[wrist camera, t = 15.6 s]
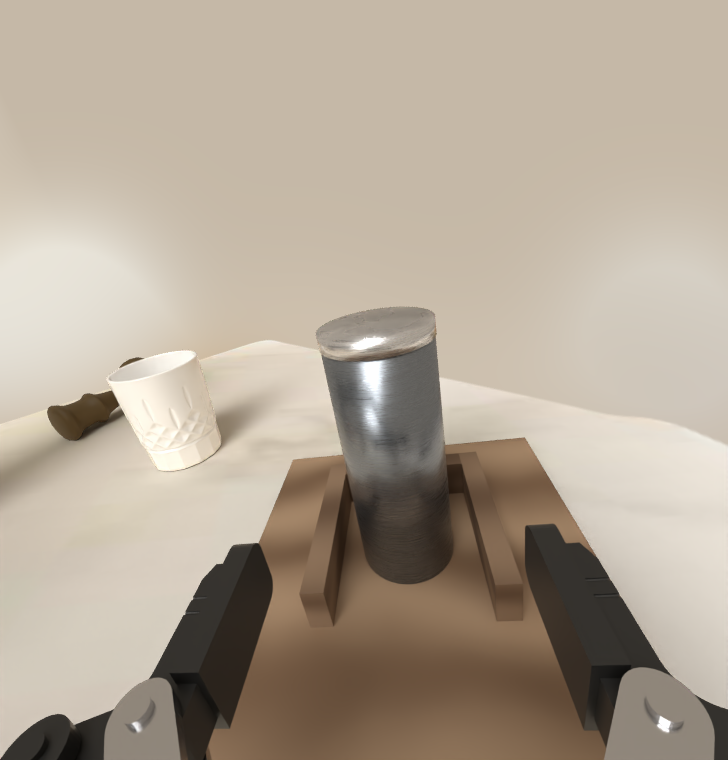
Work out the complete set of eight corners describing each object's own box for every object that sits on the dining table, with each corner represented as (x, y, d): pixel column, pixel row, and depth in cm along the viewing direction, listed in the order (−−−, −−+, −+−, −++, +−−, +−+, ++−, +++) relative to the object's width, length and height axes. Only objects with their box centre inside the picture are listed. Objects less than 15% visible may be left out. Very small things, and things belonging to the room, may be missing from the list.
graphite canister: (345, 547, 23) (293, 333, 17) (406, 499, 26) (378, 304, 20) (410, 605, 19) (369, 350, 13) (473, 540, 22) (460, 310, 16)
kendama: (50, 441, 49) (175, 376, 65) (90, 452, 45) (214, 379, 60) (26, 402, 46) (162, 344, 62) (65, 409, 42) (201, 345, 58)
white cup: (177, 435, 43) (143, 355, 39) (239, 429, 42) (211, 346, 38) (131, 478, 36) (84, 386, 32) (204, 473, 34) (165, 376, 31)
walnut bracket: (775, 872, 11) (808, 824, 9) (144, 841, 13) (107, 801, 12) (524, 443, 31) (525, 411, 29) (294, 465, 33) (286, 436, 32)
